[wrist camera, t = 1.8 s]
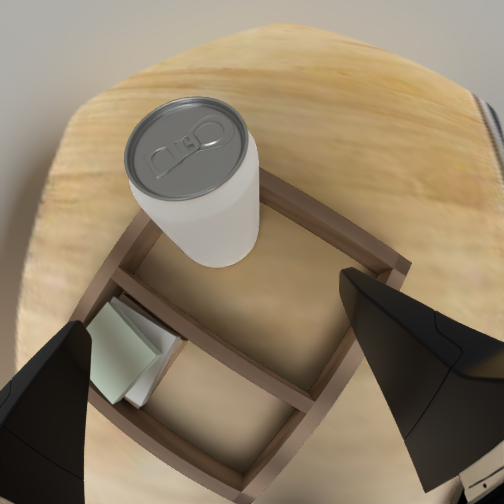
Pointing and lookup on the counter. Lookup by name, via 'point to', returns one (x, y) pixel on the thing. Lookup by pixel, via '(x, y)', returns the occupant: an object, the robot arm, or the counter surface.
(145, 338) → the offcut stack
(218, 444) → the counter surface
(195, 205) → the can
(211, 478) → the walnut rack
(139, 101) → the counter surface
